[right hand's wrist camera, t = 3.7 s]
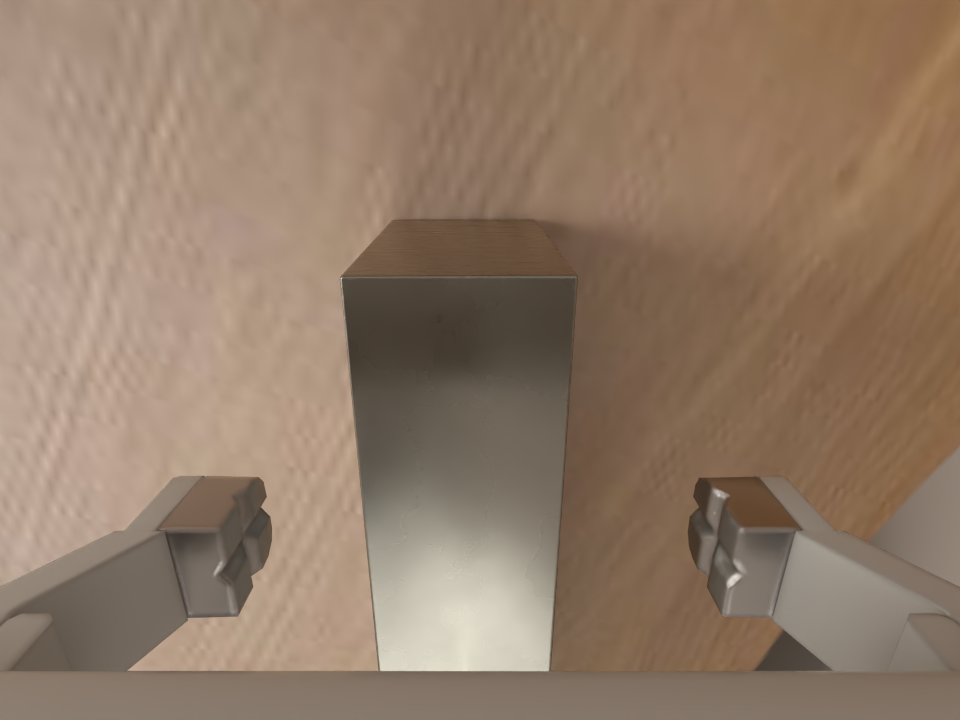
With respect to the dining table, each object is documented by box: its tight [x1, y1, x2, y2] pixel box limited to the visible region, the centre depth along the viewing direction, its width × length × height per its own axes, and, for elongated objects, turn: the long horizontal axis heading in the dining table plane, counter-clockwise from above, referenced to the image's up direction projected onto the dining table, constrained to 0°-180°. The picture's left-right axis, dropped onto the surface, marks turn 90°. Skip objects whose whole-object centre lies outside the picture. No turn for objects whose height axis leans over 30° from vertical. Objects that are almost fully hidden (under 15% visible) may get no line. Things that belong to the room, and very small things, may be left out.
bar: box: [340, 220, 578, 671], centre depth 19 cm, size 23×5×8 cm, turn 0°
